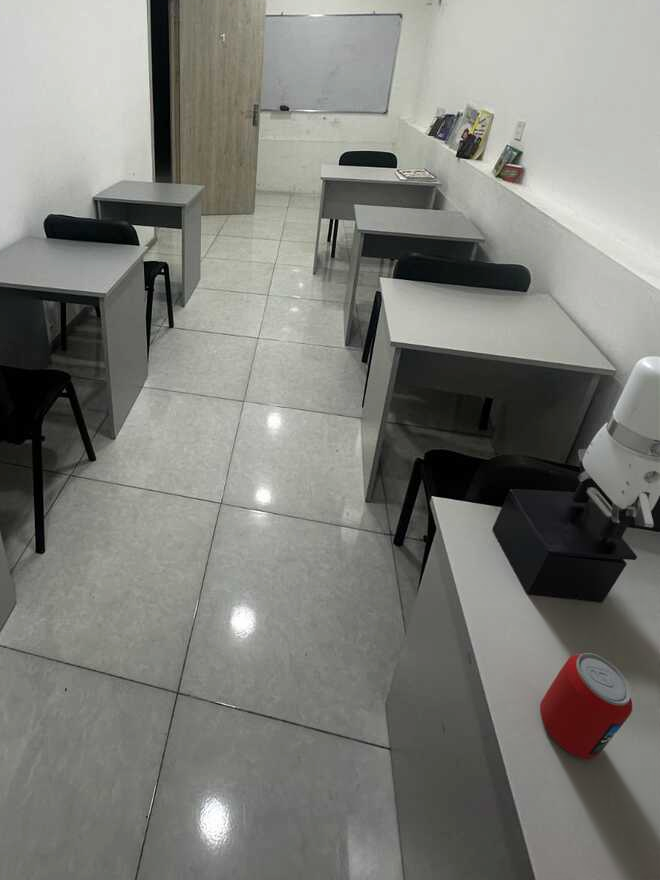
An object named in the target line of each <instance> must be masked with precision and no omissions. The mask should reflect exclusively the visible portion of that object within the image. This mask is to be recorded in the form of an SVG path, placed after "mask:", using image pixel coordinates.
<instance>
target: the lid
mask: <svg viewBox="0 0 660 880" xmlns="http://www.w3.org/2000/svg"><path fill="white" fill-rule="evenodd" d="M508 493H509V494H510V495H511V497H512V498H513V500H514V502H515V503H516V505H517V506H518V508H519V510H520V511H521V513H522V514H523V516H524V518H525V519H526V521H527V522H528V524H529V525H530V527H531V529H532V530H533V532H534V533H535V535H536V537H537V538H538V540H539V541H540V543H541V545H542V546H543V548H544V549H545V551H546V553H547V554H548V555H558V556H575V557H592V558H609V559H623V560H625V561H626V560H628V561H637V559H638V555H637V554H636V553H635V552H634V550H633V549H632V548H631V547H630V546H629V544H628V543H627V541H626V540H625V539H624V538H623V536H622V537H621V538H620V539H615V538H605V537H601V536H600V534H599V530H600V529H601V527H602V525H603V523H604V521H605V519H606V517H608V516H612V505H611V504H609V502H608V501H607V499H605V497H604V496H603V495H602V494H601V493H600V491H599V492H598V490H597V489H596V488H595V487H592V486H591V487H587V488H586V489H585V493H586V495H587V496H586V498H585V501H584V503H576V502H574V501H573V499H572V498H573V496H574V493H575V492H574V491H573V492H572V491H557V490H556V491H555V490H554V491H553V490H539V489H538V490H534V489H519V488H517V489H516V488H514V489H513V488H510V489H509V490H508ZM592 502H593V504H591V503H592Z"/></svg>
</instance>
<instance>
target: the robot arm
mask: <svg viewBox="0 0 660 880" xmlns="http://www.w3.org/2000/svg"><path fill="white" fill-rule="evenodd" d="M577 453H578V459H579V464H578V466H579V471H580V473H579V474H578V476H577V477H578V481H579V483H578V485H577V487H576V489H575V493H574V496H573V498H572V499H573V501H574V502H576V503H584V501H585V498H586V496H587V495H586V493H585V489H586V488H587V487H591V486H592V487H595V488H596V489H597V490H598V492H599V493H600V490H601V491H602V492H603V493H604V494H605V496H607V498H608V499H609V500H610V501H611V502H612V505H611V507H612V516H608V517H606V519H605V521H604V523H603V525H602V527H601V529H600V530H599V534H600V536H601V537H605V538H615V539H620V538H621V537H622V538H623V536H624V534H625V533H626V532H625V531H627V529H628V527H629V526H637V527H644V528H653V527H654V526H655V524H654V519H653V516H652V511H653V510H654V507H656V504H657V502H658V500H659V499H660V356H655V355H654V356H653V355H652V356H645V357H642V358H641V359H639V360H638V361H637V362H636V363H635V365H634V367H633V369H632V371H631V373H630V376H629V378H628V380H627V382H626V383H625V386H624V388H623V390H622V392H621V395H620V396H619V398H618V401H617V403H616V405H615V406H614V409H613V411H612V413H611V415H610V417H609V420H608V422H606V423H604V425H602V426H601V428H600V429H599V430H598V431H597V433H595V436H594V437H593V439H592V440H591V442H590V444H589V445H588V447H587V448H578V450H577ZM591 504H593V502H592V503H591ZM623 510H626V513H625V515H623V514H622V513H623Z"/></svg>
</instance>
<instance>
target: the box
mask: <svg viewBox="0 0 660 880" xmlns="http://www.w3.org/2000/svg"><path fill="white" fill-rule="evenodd" d="M492 529H493V531H494V533H495V535H494V537H495V538H496V541H497V542H498V544H499V543H500V544H499V546H500V545H501V546H500V548H501V547H502V548H501V549H502V551H503V554H504V555H505V556H506V559H507V561H508V562H509V564H510V566H511V568H512V570H513V572H514V574H515V575H516V577H517V579H518V581H519V583H520V585H521V587H522V588H523V590H524V592H525V594H526V595H528V596H535V597H537V596H538V597H547V598H555V599H563V600H564V599H565V600H572V601H573V600H574V601H581V602H591V603H599V604H603V603H604V601H605V600H606V598H607V597H608V595H609V593H610V591H611V590H612V588H613V587H614V585H615V584H616V582H617V581H618V579H619V577H620V576H621V574H622V573H623V571H624V569H625V568H626V567H627V562H626V560H625V559H609V558H592V557H575V556H558V555H548V554H547V553H546V551H545V549H544V548H543V546H542V545H541V543H540V541H539V540H538V538H537V537H536V535H535V533H534V532H533V530H532V529H531V527H530V525H529V524H528V522H527V521H526V519H525V518H524V516H523V514H522V513H521V511H520V510H519V508H518V506H517V505H516V503H515V502H514V500H513V498H512V497H511V495H510V494H509V492H508V493H507V495H506V496H505V499H504V501H503V503H502V506H501V508H500V511H499V513H498V514H497V517H496V520H495V522H494V524H493V526H492ZM492 529H491V530H492ZM493 531H492V532H493ZM494 533H493V534H494Z"/></svg>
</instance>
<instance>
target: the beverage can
mask: <svg viewBox="0 0 660 880" xmlns="http://www.w3.org/2000/svg"><path fill="white" fill-rule="evenodd" d="M632 712H633V701H632V691H631V687H630V685H629V682H628V680H627V679H626V678H625V676H624V675H623V674H622V673H621V671H620V670H619V669H618V668H617V667H616V666H615V665H614V664H613V663H611V662H610V661H608V660H607V659H606V658H603V657H602V656H600V655H598V654H595V653H591V652H584V653H582V654H581V653H580V654H573V655H571V656H569V657H568V658H567V660H566V661H565V663H564V664H563V666H562V668H561V669H560V670H559V672H558V673H557V674H556V677H555V678H554V680H553V681H552V683H551V684H550V686H549V688H548V689H547V691H546V693H545V694H544V696H543V698H542V700H541V701H540V704H539V713H540V717H541V719H542V723H543V725H544V728H546V730H547V732H548V733H549V735H550V736H551V738H552V739H553V740H554V741H555V742H556V743H557V744H558V745H559V746H560V747H562V748H563V749H564V750H565V751H566V752H567V753H569V754H570V755H573V756H574V757H576V758H579V759H582V760H593V759H595V758H597V757H598V756H599V755H600V754H601V752H602V751H603V750H604V749H605V747H606V746H607V745H608V744H609V743H610V742H611V741H612V739H613V738H614V737H615V735H616V734H617V733H618V732H619V730H620V729H621V728H622V726H623V725H624V724H625V722H626V721H627V720H628V718H629V717H630V716H631V714H632Z"/></svg>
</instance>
